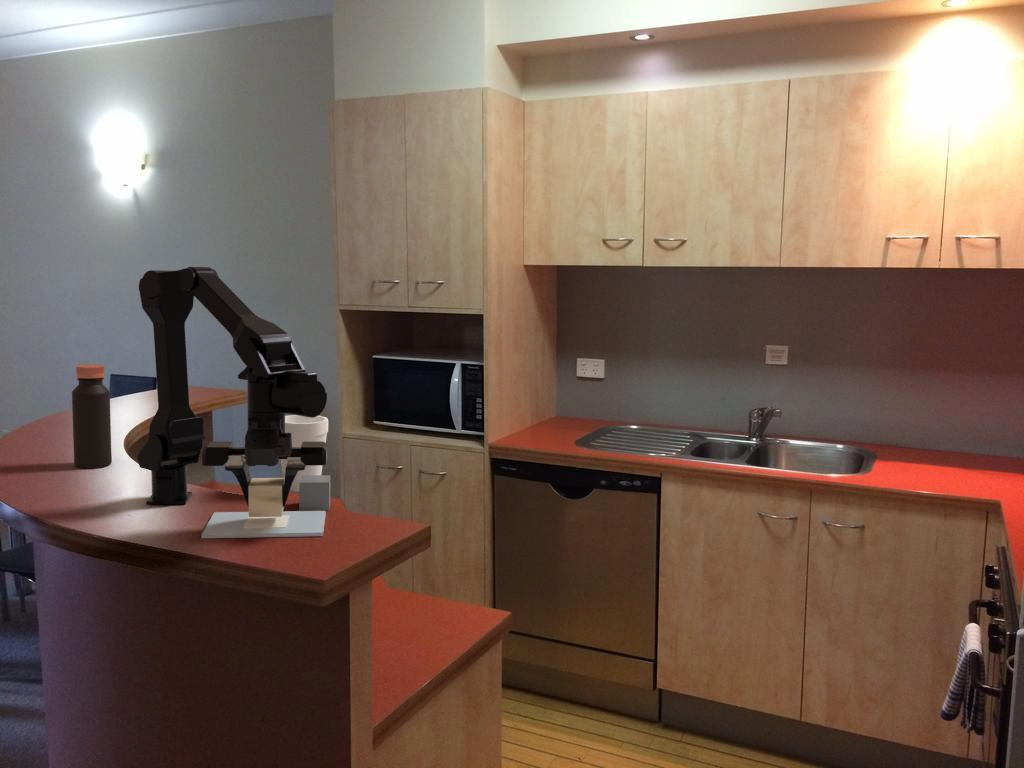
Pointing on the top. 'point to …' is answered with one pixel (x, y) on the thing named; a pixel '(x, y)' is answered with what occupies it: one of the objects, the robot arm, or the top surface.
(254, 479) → the maple block
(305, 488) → the charcoal block
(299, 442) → the foam cup
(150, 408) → the top surface
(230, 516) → the board
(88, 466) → the bottle
